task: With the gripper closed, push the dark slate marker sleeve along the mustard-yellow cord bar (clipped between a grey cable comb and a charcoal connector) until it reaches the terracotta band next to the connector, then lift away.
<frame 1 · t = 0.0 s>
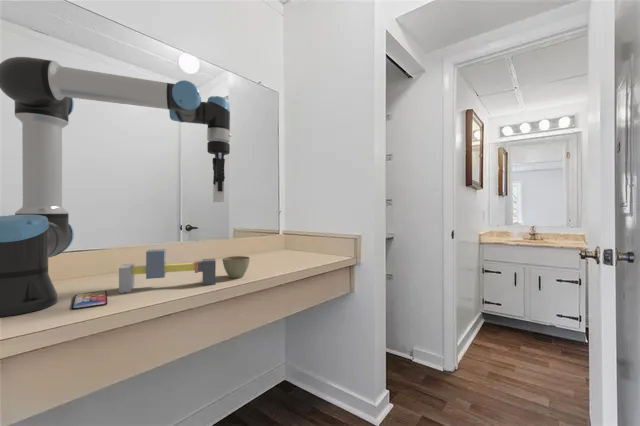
hand: (218, 202, 107), 28 cm above the worktop, fingers open, 13 cm apart
smartphone: (90, 302, 83), on the worktop
flower pot: (236, 277, 113), on the worktop
sleeve: (156, 263, 97), point 8 cm above the worktop, slide at 0.0 cm
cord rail: (169, 286, 98), on the worktop
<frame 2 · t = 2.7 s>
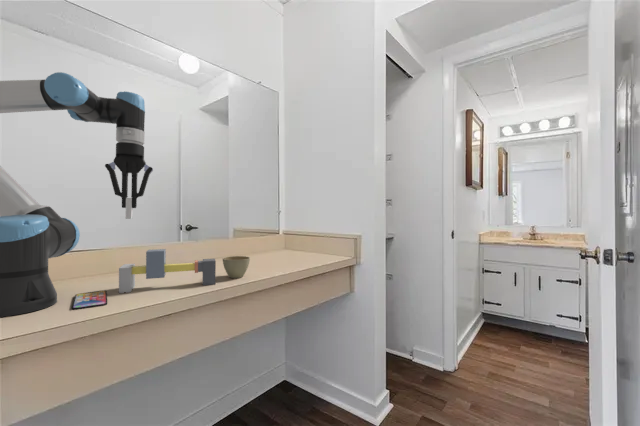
hand: (129, 218, 94), 22 cm above the worktop, fingers closed
nothing on the worktop moved.
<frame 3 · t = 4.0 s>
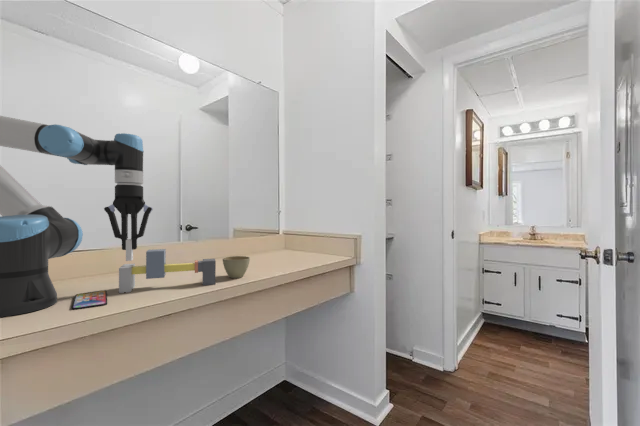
hand: (129, 260, 94), 9 cm above the worktop, fingers closed
nothing on the worktop moved.
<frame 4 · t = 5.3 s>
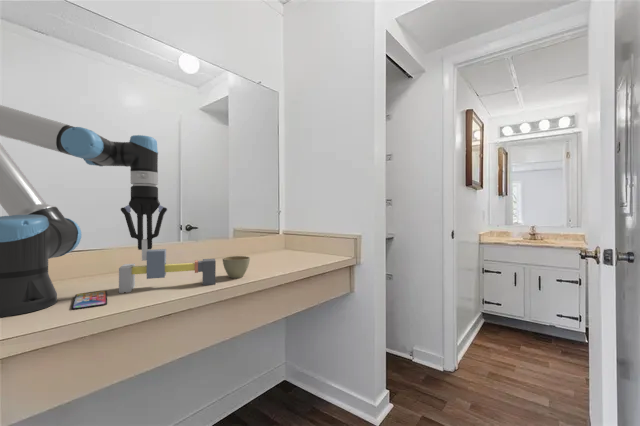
hand: (145, 259, 95), 9 cm above the worktop, fingers closed
sleeve: (156, 263, 97), point 8 cm above the worktop, slide at 0.1 cm, touching gripper
everything else where it was.
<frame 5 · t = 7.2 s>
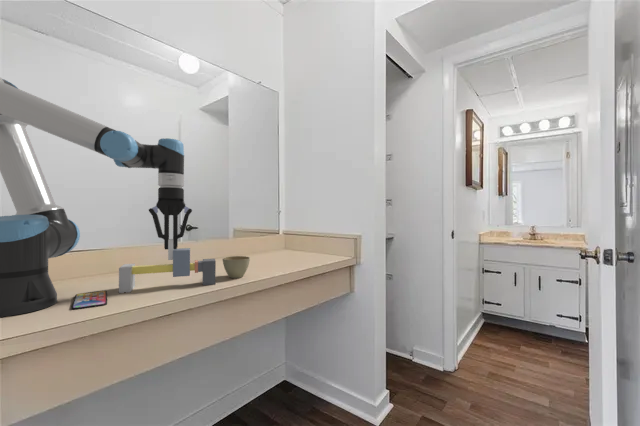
hand: (171, 259, 98), 9 cm above the worktop, fingers closed
sleeve: (181, 262, 100), point 8 cm above the worktop, slide at 7.5 cm, touching gripper
everything else where it was.
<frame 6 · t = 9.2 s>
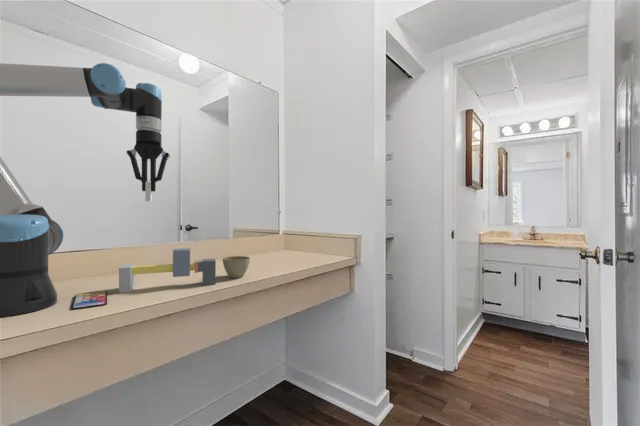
hand: (148, 201, 102), 28 cm above the worktop, fingers closed
sleeve: (181, 262, 100), point 8 cm above the worktop, slide at 7.5 cm
everything else where it was.
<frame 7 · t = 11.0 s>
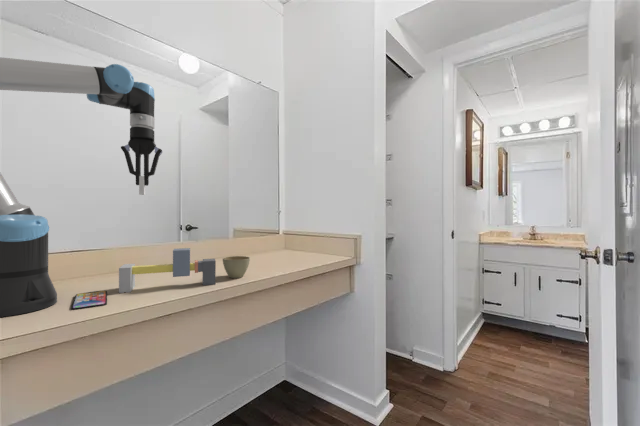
hand: (142, 194, 107), 30 cm above the worktop, fingers closed
nothing on the worktop moved.
at the end: sleeve slide at 7.5 cm; the gripper is holding nothing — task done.
